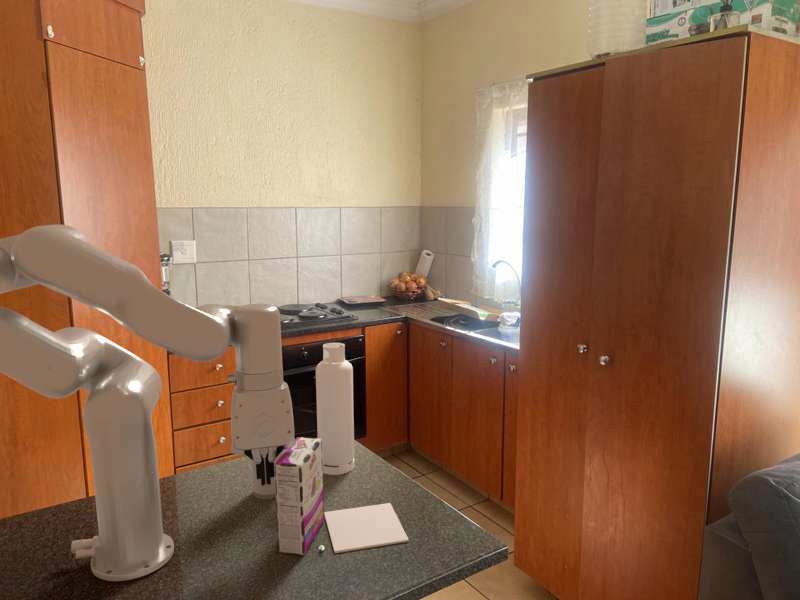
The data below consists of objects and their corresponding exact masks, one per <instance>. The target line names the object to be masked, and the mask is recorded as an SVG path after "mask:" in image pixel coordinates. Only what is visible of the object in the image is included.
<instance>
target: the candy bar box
mask: <svg viewBox="0 0 800 600" xmlns="http://www.w3.org/2000/svg"><path fill="white" fill-rule="evenodd" d="M295 441H296V445H295V446H293V447H291V448H288V449H285V451H283V453H284V454H283V455H282V456H281V457H280V458H279V459H278V460H277V462H276V463H275V482H276V498H275V499H276V514H277V516H276V518H277V539H278V540H277V541H278V542H277V543H278V552H279V553H280V554H285V555H286V554H290V555H298V556H306V553H307V551H308V550H309V548H310V547H311V544H312V543H313V541H314V539H315V538H316V536H317V534H318V532H319V531H320V530H321V527H322V526H323V524H324V522H325V516H324V512H325V506H324V505H325V501H324V477H323V476H324V475H323V474H324V473H323V467H322V439H318V437H317V438H314V437H304V436H301V437H299V436H298V437H296V438H295Z"/></svg>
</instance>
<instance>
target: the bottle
mask: <svg viewBox="0 0 800 600" xmlns="http://www.w3.org/2000/svg"><path fill="white" fill-rule="evenodd" d="M345 347H346V344H345V343H342V342H328V343H324V344H323V345H322V351H323V352H322V353H323V354H322V355H323V356H322V360H321V361H320V362H319V363H318V364H317V365H316V367H315V387H316V389H315V391H316V394H315V396H316V423H317V425H316V428H317V430H316V431H317V439H322V467H323V474H326V475H330V476H331V475H332V476H338V475H339V476H340V475H344V473H345V474H348V473H350V472H351V471H353V470H354V469H353V468H355V425H354V424H355V423H354V422H355V421H354V415H355V414H354V367H353V365H352V363H351V362H349V361H348V360H347V359H346V354H345V353H346V351H345V350H346V349H345ZM349 471H350V472H349ZM347 472H348V473H347Z"/></svg>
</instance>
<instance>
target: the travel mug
mask: <svg viewBox="0 0 800 600" xmlns="http://www.w3.org/2000/svg"><path fill="white" fill-rule="evenodd" d="M260 453H261V454H262V455H263V458H264V464H265V457H266V454H267V453H268V448H261V449H260ZM283 454H284V450H283V451H282V452H281V453H280V454H279V455H278V456H277V457H276V459H275V461H274V474H275V463H276V462H277V460H278V459H279V458H280V457H281V456H282V455H283ZM251 468H252V485H253V488H252V489H253V490H252V491H253V496H254V497H255V498H257V499H258V500H259V499H260V500H262V501H263V500H266V501H268V500H273V499H276V482H275V477H271V485H268V484H267V483H266V484H265V485H264V486H261V479H257V474H256V464H255V463H254V461H253V460H252V459H251ZM265 481H266V468H265Z"/></svg>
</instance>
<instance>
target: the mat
mask: <svg viewBox="0 0 800 600" xmlns="http://www.w3.org/2000/svg"><path fill="white" fill-rule="evenodd" d="M324 520H325V524H326V526H327V529H328V530H327V531H328V534H329V538H330V542H331V545H332V548H333V552H334V554H339V553H340V554H341V553H346V552H353V551H357V550H364V549H370V548H377V547H381V546H382V547H383V546H389V545H394V544H401V543H408V542H409V541H410V540H409V537H408V536H407V535H408V534H406V532H405V530H404V528H403V525H402V524H401V521H400V519H399V517H398V515H397V514H396V511H395V510H394V507H393V506H392V504H391V502H387V503H381V504H373V505H366V506H365V505H364V506H357V507H352V508H344V509H337V510H331V511H330V510H329V511H324Z"/></svg>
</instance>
